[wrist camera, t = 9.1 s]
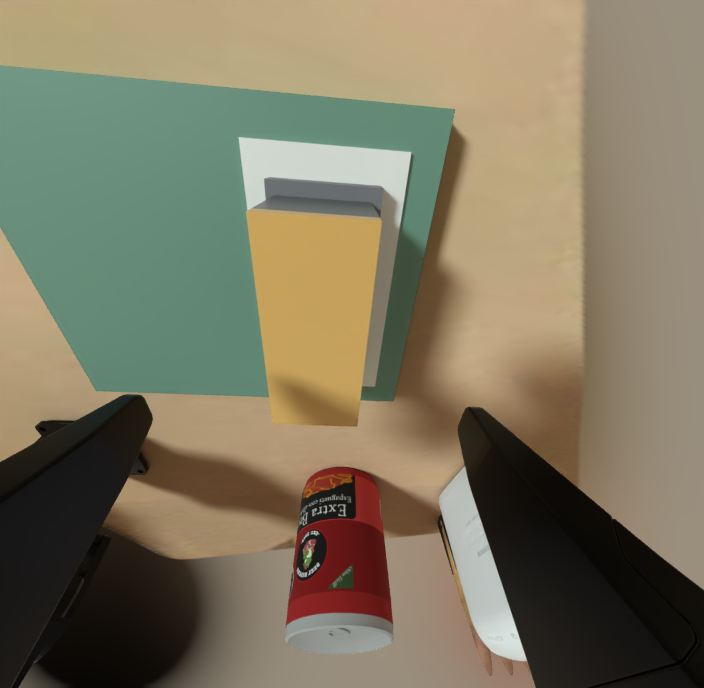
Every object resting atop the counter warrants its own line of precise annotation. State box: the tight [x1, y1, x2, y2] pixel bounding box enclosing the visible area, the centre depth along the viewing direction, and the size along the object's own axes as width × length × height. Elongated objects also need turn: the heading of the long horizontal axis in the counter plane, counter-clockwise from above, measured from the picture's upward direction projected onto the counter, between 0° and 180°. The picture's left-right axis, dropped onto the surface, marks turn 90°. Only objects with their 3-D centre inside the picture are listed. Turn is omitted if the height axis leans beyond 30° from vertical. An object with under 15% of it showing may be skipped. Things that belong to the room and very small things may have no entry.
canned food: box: [285, 467, 393, 654], centre depth 24 cm, size 8×8×11 cm
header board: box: [0, 65, 455, 401], centre depth 14 cm, size 16×20×6 cm
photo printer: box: [439, 466, 527, 661], centre depth 23 cm, size 10×4×12 cm, turn 162°
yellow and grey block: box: [246, 195, 382, 426], centre depth 13 cm, size 9×4×4 cm, turn 176°
